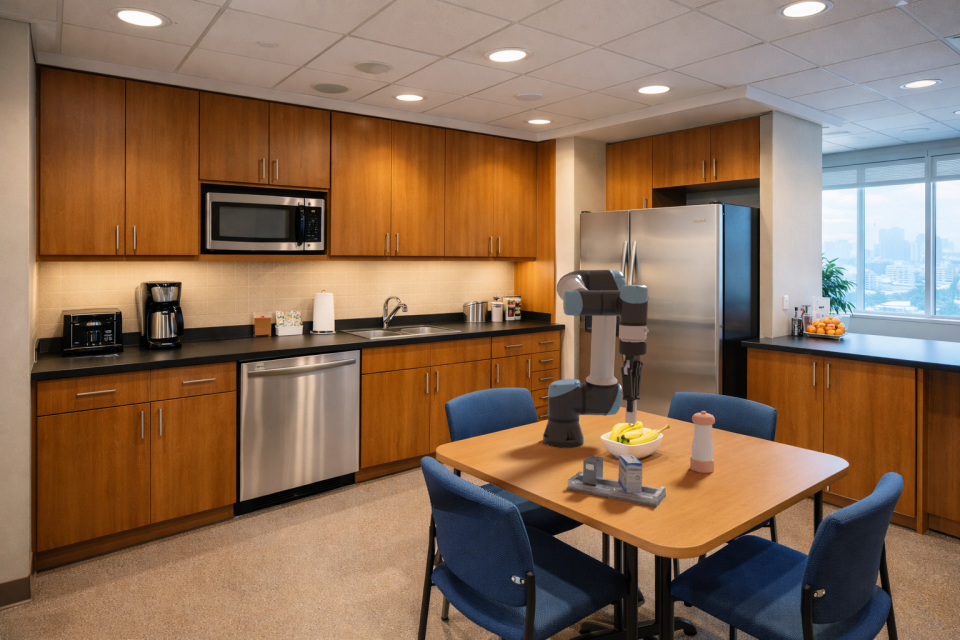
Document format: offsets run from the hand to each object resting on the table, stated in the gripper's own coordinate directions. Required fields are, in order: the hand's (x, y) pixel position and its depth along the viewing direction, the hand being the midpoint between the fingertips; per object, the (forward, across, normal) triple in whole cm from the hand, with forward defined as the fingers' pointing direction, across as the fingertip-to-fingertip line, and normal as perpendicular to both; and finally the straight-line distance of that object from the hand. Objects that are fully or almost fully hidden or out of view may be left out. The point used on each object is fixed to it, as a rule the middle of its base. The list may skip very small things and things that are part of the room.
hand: (630, 422), depth 174 cm
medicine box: (+19, -1, 0) cm, 19 cm away
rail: (+21, -1, +4) cm, 21 cm away
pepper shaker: (+22, +34, -13) cm, 43 cm away
